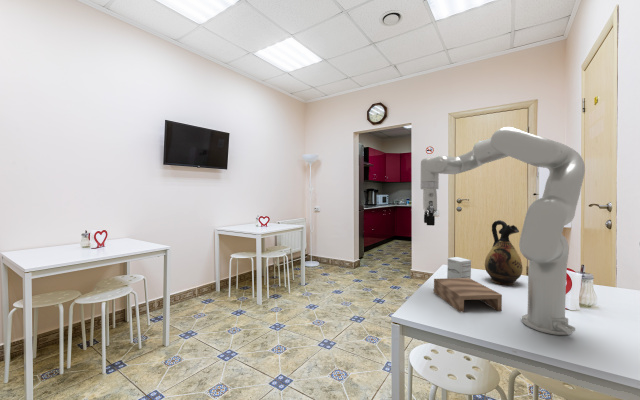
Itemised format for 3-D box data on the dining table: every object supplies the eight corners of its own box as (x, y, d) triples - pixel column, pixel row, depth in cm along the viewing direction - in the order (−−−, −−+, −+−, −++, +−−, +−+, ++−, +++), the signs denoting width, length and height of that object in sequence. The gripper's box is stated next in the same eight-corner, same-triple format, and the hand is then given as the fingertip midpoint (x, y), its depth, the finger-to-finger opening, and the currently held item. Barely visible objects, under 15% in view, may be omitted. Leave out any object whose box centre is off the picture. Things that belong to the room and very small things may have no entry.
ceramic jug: (530, 285, 130) (531, 221, 130) (508, 289, 125) (509, 223, 124) (495, 275, 146) (496, 218, 145) (474, 278, 140) (475, 219, 140)
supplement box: (446, 284, 132) (446, 257, 131) (457, 282, 135) (457, 256, 134) (460, 289, 125) (460, 261, 125) (471, 286, 128) (471, 259, 128)
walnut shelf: (501, 310, 102) (501, 294, 102) (459, 312, 101) (460, 295, 101) (469, 291, 122) (469, 278, 122) (433, 292, 121) (434, 278, 121)
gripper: (441, 185, 114) (441, 226, 115) (435, 186, 131) (435, 222, 132) (422, 185, 116) (422, 226, 117) (418, 186, 133) (418, 221, 133)
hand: (429, 224), depth 124 cm, fingers open, 9 cm apart
